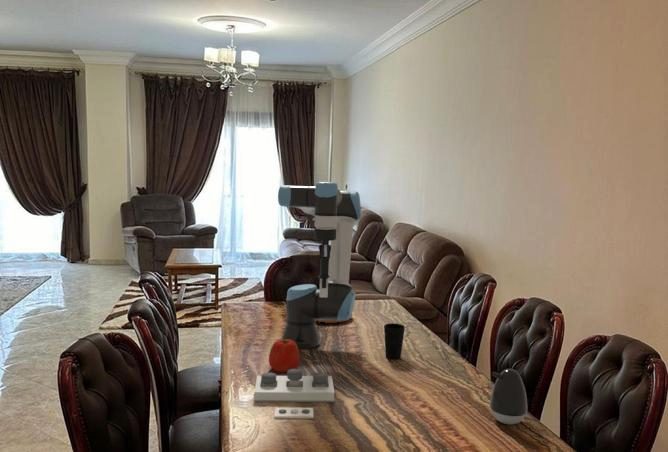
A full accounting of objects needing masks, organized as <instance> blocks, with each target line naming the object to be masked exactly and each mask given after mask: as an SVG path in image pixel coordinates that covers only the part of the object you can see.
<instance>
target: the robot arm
mask: <svg viewBox="0 0 668 452" xmlns="http://www.w3.org/2000/svg"><path fill="white" fill-rule="evenodd" d="M277 202H278V205H279V206H281V207H286V208H296V209H300V210H301V211H302V212H303V213H305V214H307V215H310V216H313V218H312V221H313V222H314V229H313V234H314V235H313V238H314V240H316V241H320V244H318V251H319V255H318V256H319V259H320V262H319V266H320V267H319V275H318V279H319V288H318V286H317V285H316V284H311V283H310V284H309V283H307V284H298V285H293V286H291V287H290V288H288V290H287V292H286V299H285V301H286V312H285V313H286V314H285V315H286V317H285V319H286V321H285V322H286V323H285V327H284V330H283V334H282V335H281V340H284V339H290V340H292V341H294V342H295V343H296V345H297V347H298V350H301V349H303V350H305V349H312V348H316V347H317V346H319V345H320V336H319V333H318V329H317V326H316V325H317V322H316V319H327V320H337V321H339V320H346V321H348V320H350V319H351V318H352V317H351V315H352V316H353V311H354V308H355V302H356V292H355V291H354V290H353V287H352V285H351V284H350V282H349V281H350V271H351V270H350V269H351V258H352V257H351V256H352V245H353V244H352V242H353V233H354V232H353V231H354V227H355V226H356V225H357V224H358V220H361V219H362V209H361V208H362V207H361V197H360V194H359V192H358V191H355V190H349V189H348V190H340V189H339V187H338V183H337V182H334V181H333V182H332V181H318V182H316V183H315V186H311V185H310V186H309V185H308V186H305V185H290V184H289V185H288V184H287V185H280V187H279V188H278V193H277ZM350 317H351V318H350Z"/></svg>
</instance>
